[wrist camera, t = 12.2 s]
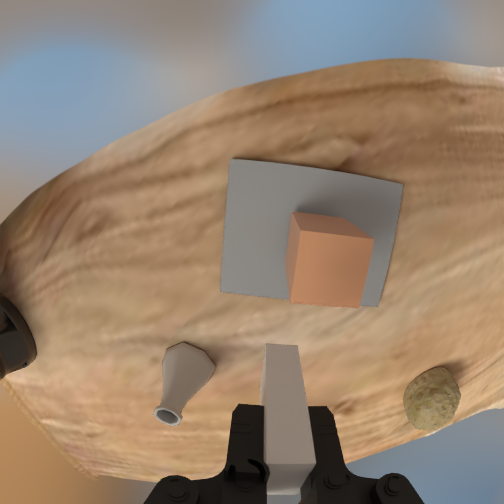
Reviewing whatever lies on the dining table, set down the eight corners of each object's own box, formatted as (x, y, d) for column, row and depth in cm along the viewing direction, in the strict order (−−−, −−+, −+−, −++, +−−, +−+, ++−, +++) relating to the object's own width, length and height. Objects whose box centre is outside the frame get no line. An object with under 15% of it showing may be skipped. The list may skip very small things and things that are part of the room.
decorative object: (401, 363, 37) (388, 420, 30) (459, 353, 30) (453, 416, 23) (415, 387, 39) (403, 437, 33) (465, 380, 32) (458, 433, 26)
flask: (182, 332, 33) (155, 385, 24) (226, 365, 34) (212, 422, 25) (154, 360, 35) (126, 409, 26) (195, 390, 36) (177, 442, 27)
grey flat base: (221, 288, 31) (201, 337, 22) (231, 159, 27) (210, 153, 17) (374, 302, 30) (407, 351, 21) (399, 183, 26) (451, 193, 17)
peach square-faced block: (284, 263, 28) (289, 302, 19) (291, 211, 26) (300, 230, 18) (335, 268, 27) (358, 307, 19) (344, 217, 26) (374, 239, 18)
